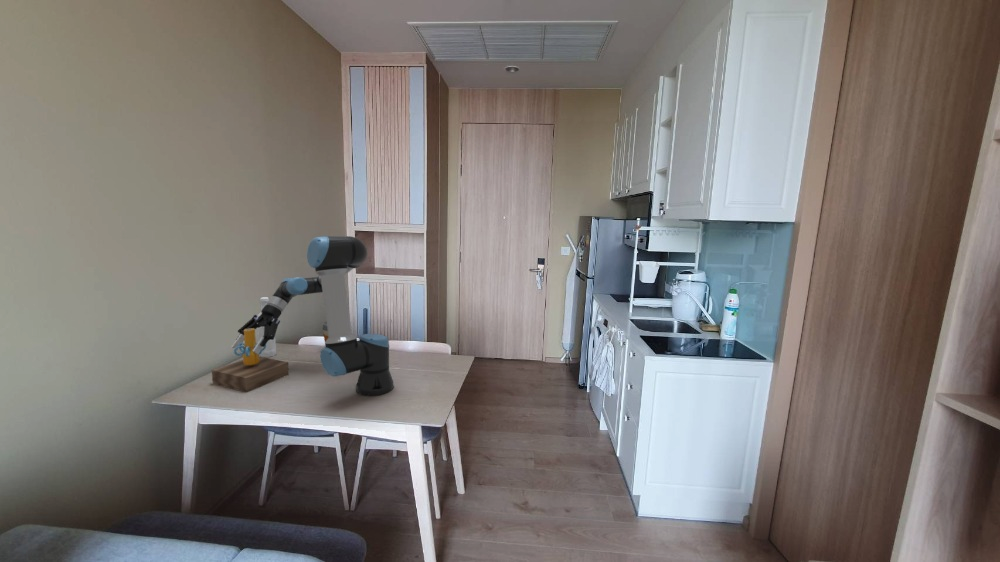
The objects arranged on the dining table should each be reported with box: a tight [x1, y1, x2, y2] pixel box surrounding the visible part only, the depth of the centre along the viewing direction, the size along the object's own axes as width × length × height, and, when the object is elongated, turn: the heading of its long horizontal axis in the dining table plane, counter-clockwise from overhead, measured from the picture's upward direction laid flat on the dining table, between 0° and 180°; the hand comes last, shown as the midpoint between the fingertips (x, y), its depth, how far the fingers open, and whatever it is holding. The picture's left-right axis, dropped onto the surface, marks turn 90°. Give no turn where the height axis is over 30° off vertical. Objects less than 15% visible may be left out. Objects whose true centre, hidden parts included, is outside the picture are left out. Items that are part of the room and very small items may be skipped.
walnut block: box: [211, 356, 290, 393], centre depth 171 cm, size 20×20×6 cm
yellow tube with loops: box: [233, 328, 266, 365], centre depth 169 cm, size 12×10×15 cm
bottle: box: [256, 296, 277, 358], centre depth 200 cm, size 8×8×30 cm
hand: (244, 350), depth 167 cm, fingers closed on yellow tube with loops, 12 cm apart
